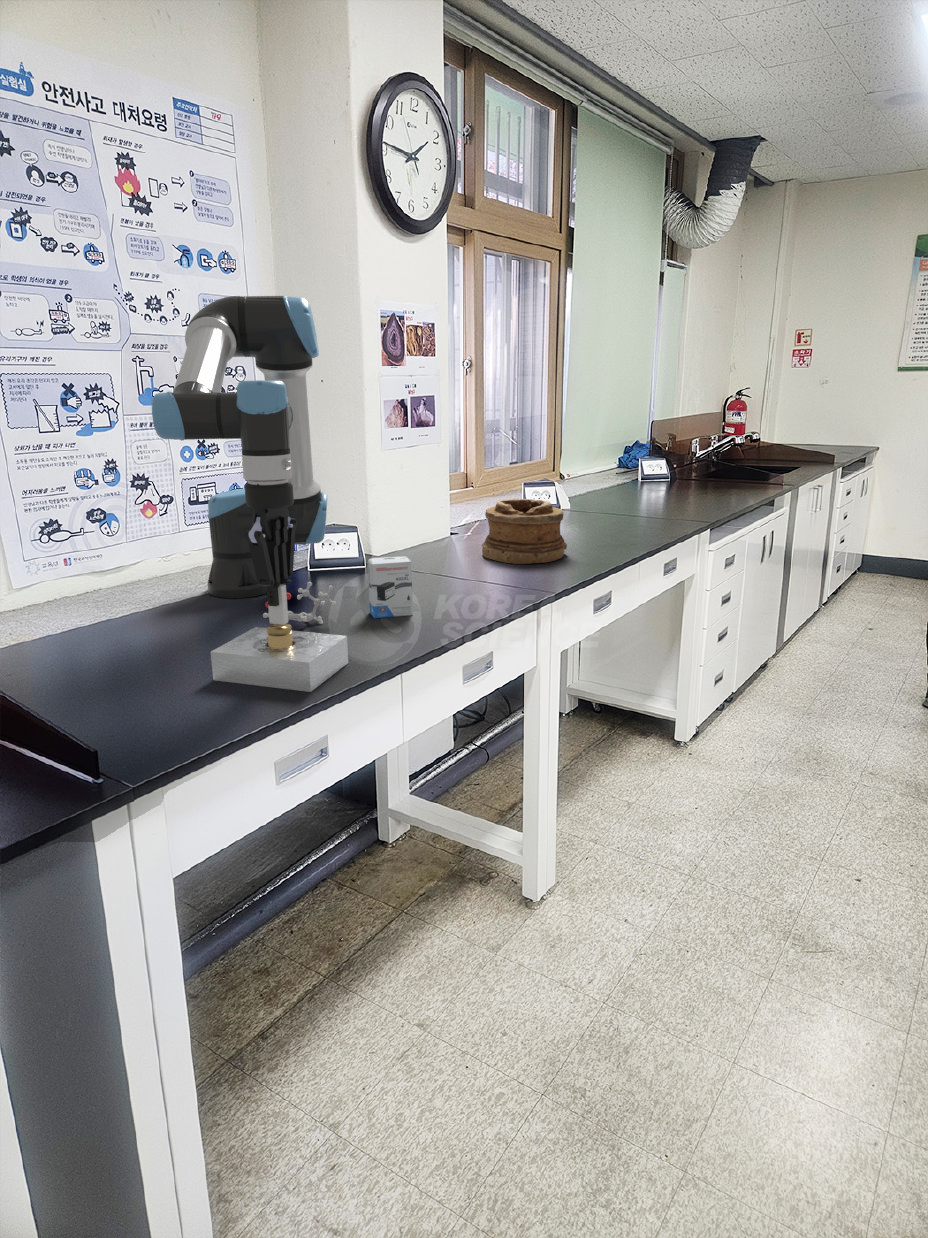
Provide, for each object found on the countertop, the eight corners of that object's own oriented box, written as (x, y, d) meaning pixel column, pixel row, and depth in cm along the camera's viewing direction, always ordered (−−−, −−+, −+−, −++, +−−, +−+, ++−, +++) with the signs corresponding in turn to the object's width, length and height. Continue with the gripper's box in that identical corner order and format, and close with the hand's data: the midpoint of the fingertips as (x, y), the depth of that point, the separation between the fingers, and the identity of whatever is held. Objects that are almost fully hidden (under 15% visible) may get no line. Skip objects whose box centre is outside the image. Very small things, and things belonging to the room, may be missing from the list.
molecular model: (308, 616, 169) (309, 570, 166) (345, 626, 164) (347, 579, 161) (238, 637, 154) (237, 586, 151) (277, 649, 149) (277, 597, 146)
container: (564, 566, 211) (566, 509, 206) (475, 563, 214) (475, 507, 210) (567, 548, 232) (569, 496, 227) (486, 546, 235) (486, 495, 231)
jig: (213, 680, 133) (210, 651, 132) (257, 653, 146) (255, 626, 145) (311, 692, 128) (309, 662, 127) (348, 662, 141) (346, 635, 140)
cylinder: (266, 674, 136) (262, 629, 134) (278, 666, 140) (274, 622, 137) (287, 676, 135) (283, 631, 132) (298, 668, 138) (295, 624, 136)
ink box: (373, 618, 166) (371, 563, 163) (369, 612, 171) (367, 558, 167) (413, 615, 168) (412, 560, 165) (408, 609, 173) (407, 555, 169)
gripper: (268, 487, 121) (279, 636, 128) (309, 477, 133) (317, 613, 139) (224, 485, 123) (238, 632, 130) (268, 475, 135) (278, 610, 142)
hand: (279, 622), depth 135 cm, fingers closed
